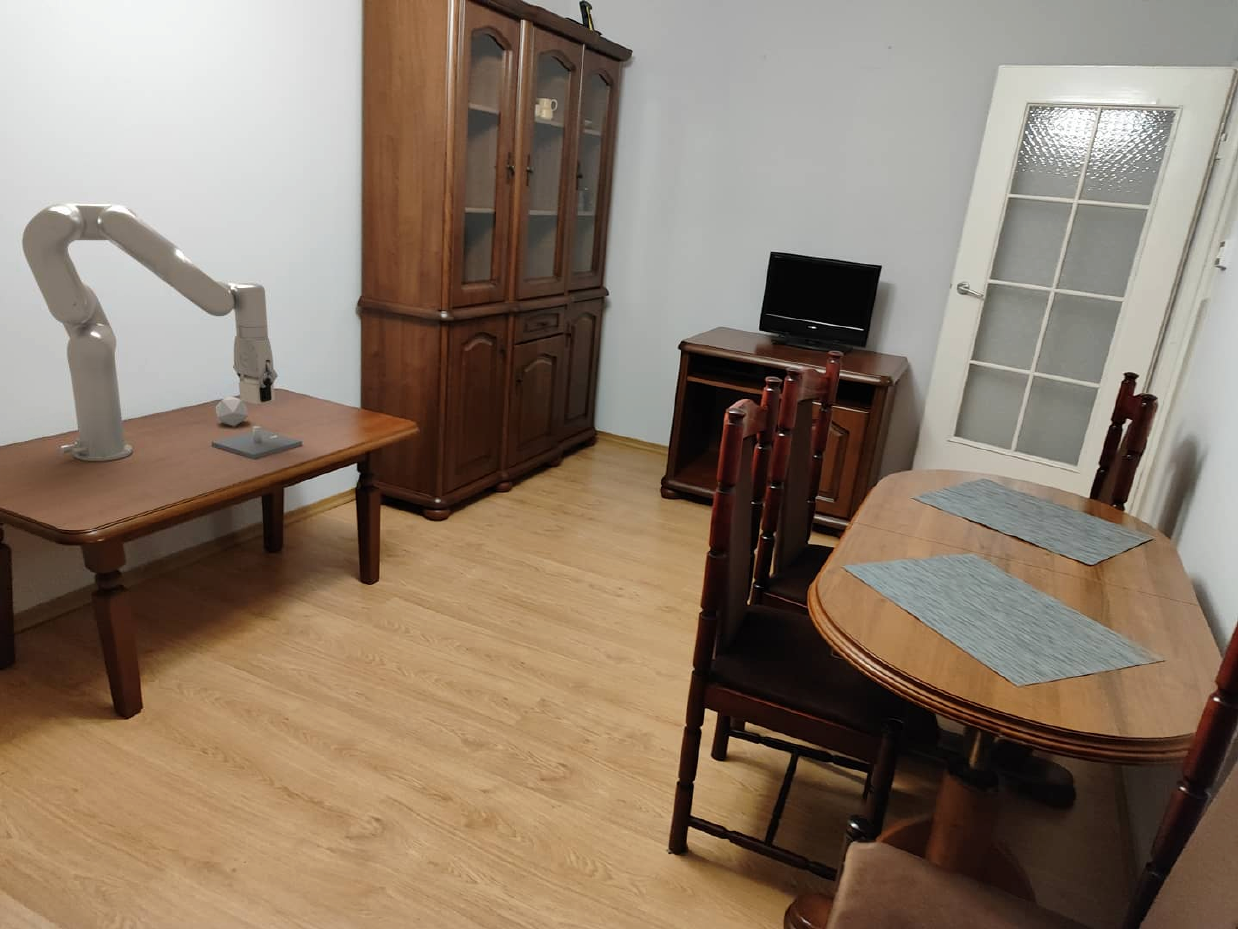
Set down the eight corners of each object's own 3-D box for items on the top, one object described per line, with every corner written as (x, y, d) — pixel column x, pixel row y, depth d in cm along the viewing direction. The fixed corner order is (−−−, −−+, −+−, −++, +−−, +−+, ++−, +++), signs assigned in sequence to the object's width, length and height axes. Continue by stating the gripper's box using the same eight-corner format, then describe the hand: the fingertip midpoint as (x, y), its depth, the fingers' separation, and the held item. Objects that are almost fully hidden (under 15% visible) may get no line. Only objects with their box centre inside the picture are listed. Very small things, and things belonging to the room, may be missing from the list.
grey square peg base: (253, 459, 213) (252, 439, 211) (211, 446, 219) (210, 427, 217) (302, 445, 226) (301, 427, 225) (261, 433, 233) (260, 415, 231)
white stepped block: (256, 404, 215) (254, 380, 213) (240, 400, 218) (238, 376, 216) (274, 399, 220) (273, 376, 218) (258, 396, 223) (257, 372, 221)
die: (226, 420, 244) (206, 398, 236) (253, 407, 245) (234, 385, 237) (229, 437, 238) (209, 415, 231) (256, 423, 239) (237, 401, 232)
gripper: (216, 328, 213) (222, 395, 219) (263, 338, 206) (268, 407, 212) (241, 325, 220) (246, 390, 226) (287, 334, 213) (291, 401, 218)
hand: (257, 398), depth 219 cm, fingers closed on white stepped block, 6 cm apart
